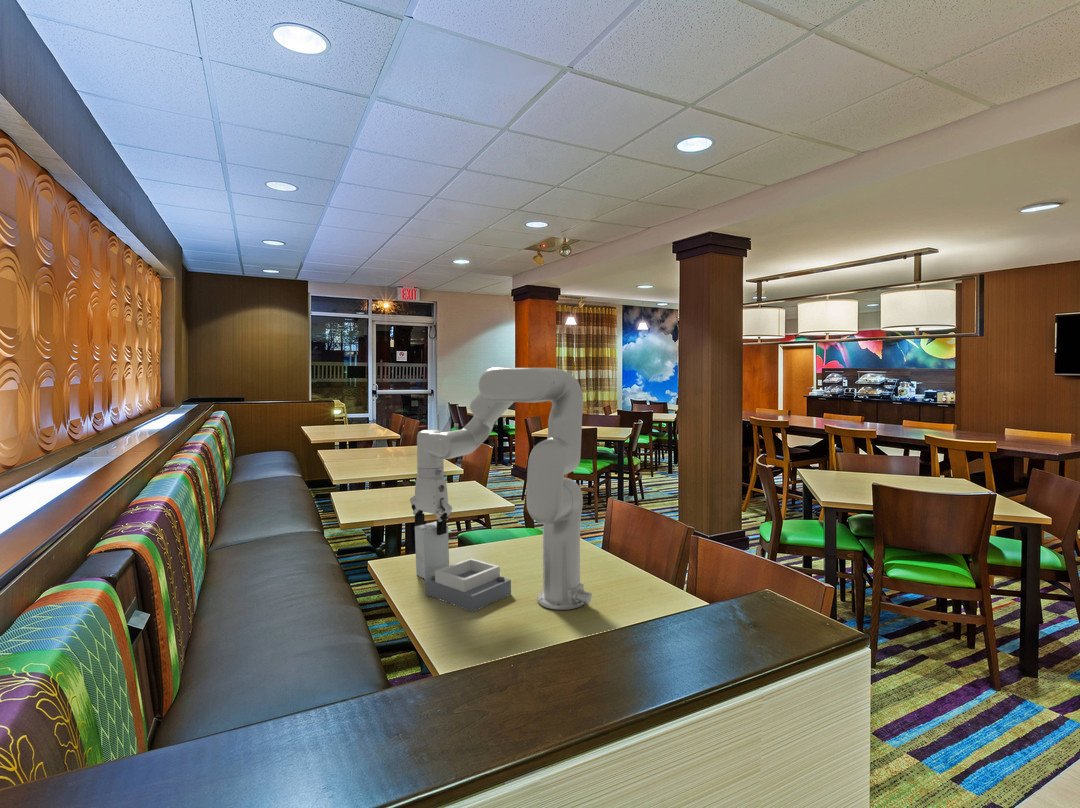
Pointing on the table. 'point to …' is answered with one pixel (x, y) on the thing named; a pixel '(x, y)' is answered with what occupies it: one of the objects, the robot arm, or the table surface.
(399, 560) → the table surface
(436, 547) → the skincare box
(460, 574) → the grey box holder
